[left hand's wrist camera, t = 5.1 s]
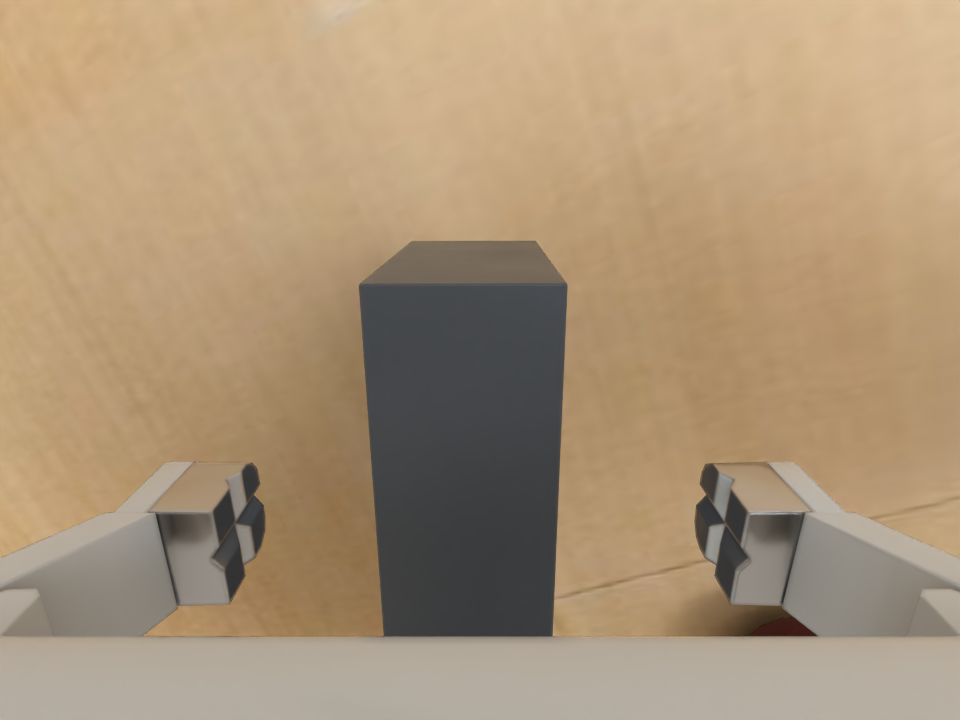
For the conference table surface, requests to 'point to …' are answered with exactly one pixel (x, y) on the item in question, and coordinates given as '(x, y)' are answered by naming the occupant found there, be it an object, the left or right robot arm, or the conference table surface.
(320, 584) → the conference table surface
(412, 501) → the bar
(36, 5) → the conference table surface
